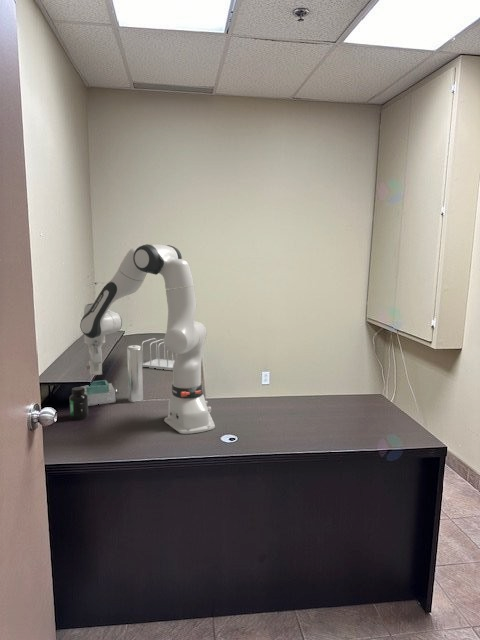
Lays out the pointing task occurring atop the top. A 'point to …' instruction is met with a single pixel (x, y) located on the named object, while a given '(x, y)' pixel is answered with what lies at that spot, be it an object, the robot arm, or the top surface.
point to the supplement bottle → (78, 404)
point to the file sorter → (158, 362)
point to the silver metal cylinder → (135, 373)
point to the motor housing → (100, 393)
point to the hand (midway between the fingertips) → (95, 368)
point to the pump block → (91, 368)
